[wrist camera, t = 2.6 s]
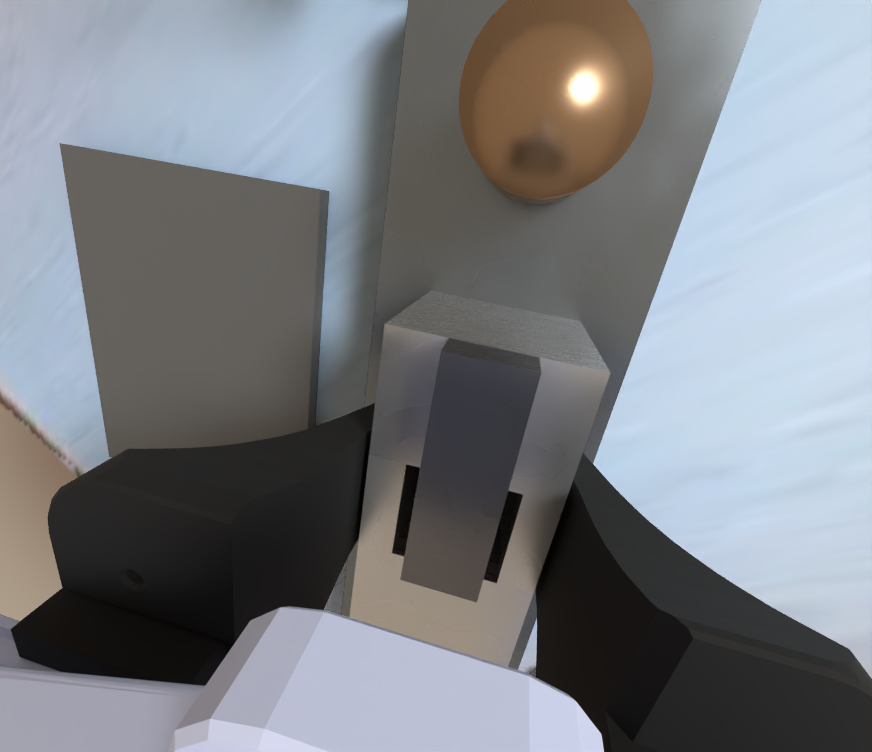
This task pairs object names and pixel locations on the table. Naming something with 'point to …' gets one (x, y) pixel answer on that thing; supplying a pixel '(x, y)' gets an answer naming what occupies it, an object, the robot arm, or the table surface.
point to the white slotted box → (470, 468)
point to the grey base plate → (550, 163)
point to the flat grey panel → (197, 299)
